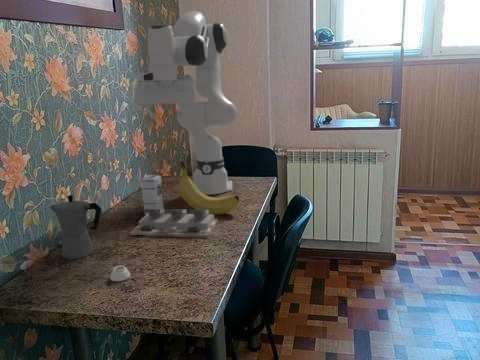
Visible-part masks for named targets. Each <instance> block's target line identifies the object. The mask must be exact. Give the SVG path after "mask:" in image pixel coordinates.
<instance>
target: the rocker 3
mask: <svg viewBox="0 0 480 360" xmlns="http://www.w3.org/2000/svg"><path fill="white" fill-rule="evenodd" d="M188 214H194V217H201V218H204V214H209V210H196V209H189V210H188Z"/></svg>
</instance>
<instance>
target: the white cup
mask: <svg viewBox="0 0 480 360" xmlns="http://www.w3.org/2000/svg"><path fill="white" fill-rule="evenodd" d="M130 277H131V272H130V271H129V269H127V268H126V266H125V265H122V264H121V265H120V264H119V265H116V266H114V267H113V270H112V272H111V274H110V276H109V278H110V281H113V282H124V281H127V279H129V278H130Z"/></svg>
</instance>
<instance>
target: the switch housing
mask: <svg viewBox="0 0 480 360" xmlns="http://www.w3.org/2000/svg"><path fill="white" fill-rule="evenodd" d="M214 219H215V214H204V218H201V217H194V214H189V213H181V217H171V213H159V217H156V216H149V213H148V214H147V215H146V216H145V215H144V217H142V218H141V219H140V220H139V221H138V225H139V227H143V226H154V228H165V227H177V228H184V229H189V227H200V229H208V228H209V227H210V225H211V224H212V223H213V221H214Z"/></svg>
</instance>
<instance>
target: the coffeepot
mask: <svg viewBox="0 0 480 360" xmlns="http://www.w3.org/2000/svg"><path fill="white" fill-rule="evenodd" d="M66 197H67V201H65V202H62V203H57V204H52V205H51V206H49V209H51V210H52V211H53V212H54V214H55V215H56V218H57V220H58V223H59V227H60V229H61V230H62V245H61V247H62V248H61V249H62V250H61V257H62V258H64V259H66V260H78V259H82V258H86V257H88V256H90V255H91V254H93V252H94V246H93V243H92V240H91V237H90V234H89V231H88V230H87V229H88V228H87V227H88V210H89V211H90V210H94V211H95V213H94V219H93V226H90V227H89V229H90V230H91V231H94V230H98V228H99V224H100V223H99V222H100V220H101V219H100V218H101V215H102V212H103V211H102V208H101V206H100V205H98V203H96V202H88V201H84V200H74V195H71V194H70V195H67V196H66Z"/></svg>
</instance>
